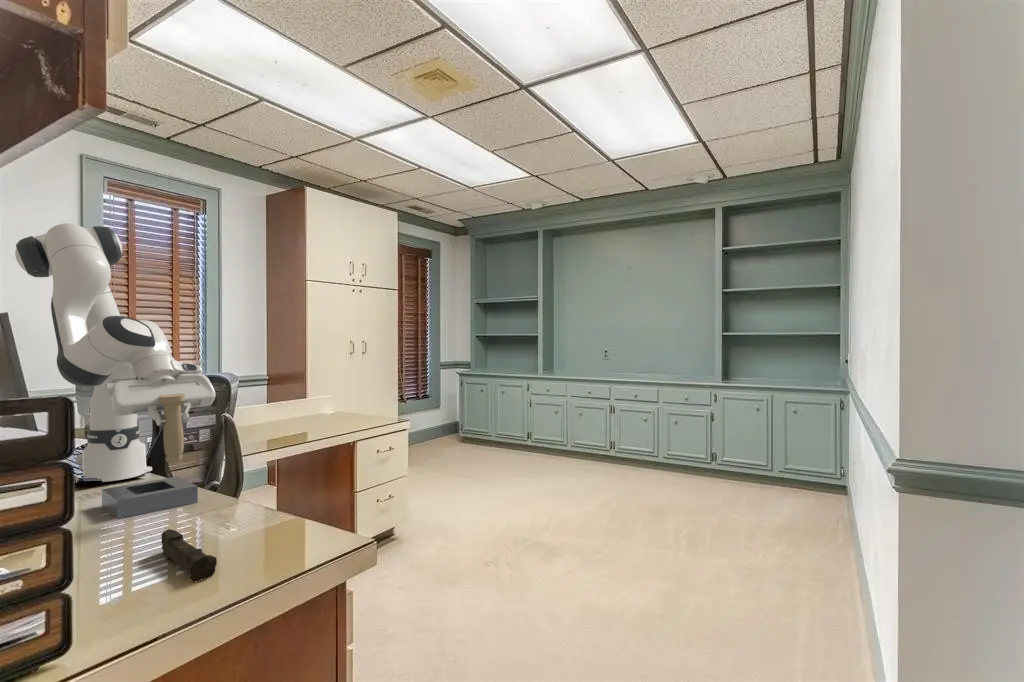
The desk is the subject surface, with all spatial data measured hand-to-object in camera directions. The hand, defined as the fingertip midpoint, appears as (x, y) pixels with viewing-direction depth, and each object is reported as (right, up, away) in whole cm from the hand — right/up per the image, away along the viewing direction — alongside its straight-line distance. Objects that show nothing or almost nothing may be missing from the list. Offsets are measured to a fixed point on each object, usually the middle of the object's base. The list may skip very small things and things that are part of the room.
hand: (173, 422), depth 120 cm
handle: (0, -9, +1) cm, 9 cm away
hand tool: (+18, -21, -27) cm, 39 cm away
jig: (-11, -21, +8) cm, 25 cm away
